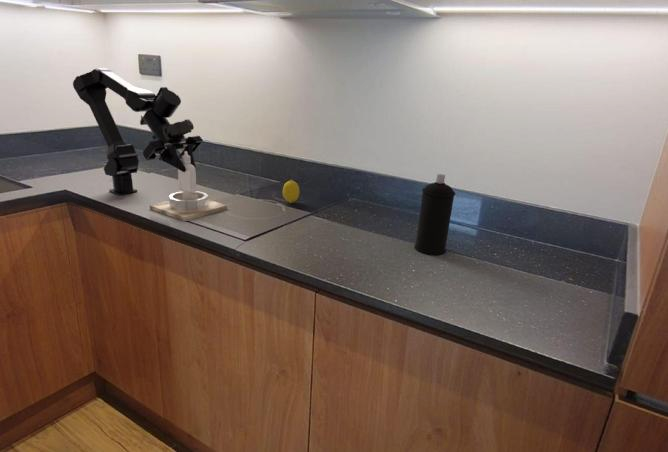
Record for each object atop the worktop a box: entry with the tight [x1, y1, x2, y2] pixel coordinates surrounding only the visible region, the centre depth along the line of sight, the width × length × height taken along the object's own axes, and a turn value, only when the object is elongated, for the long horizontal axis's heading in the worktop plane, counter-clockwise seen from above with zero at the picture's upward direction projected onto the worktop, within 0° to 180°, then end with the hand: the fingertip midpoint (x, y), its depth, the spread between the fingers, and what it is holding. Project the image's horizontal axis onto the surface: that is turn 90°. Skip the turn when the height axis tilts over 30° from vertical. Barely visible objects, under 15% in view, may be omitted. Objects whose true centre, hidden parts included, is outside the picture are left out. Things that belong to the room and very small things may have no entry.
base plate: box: [149, 199, 228, 222], centre depth 130 cm, size 16×16×1 cm
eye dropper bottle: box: [177, 151, 197, 193], centre depth 126 cm, size 4×6×12 cm
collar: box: [168, 190, 209, 211], centre depth 129 cm, size 11×11×3 cm
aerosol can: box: [414, 173, 456, 256], centre depth 108 cm, size 8×8×20 cm
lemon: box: [282, 179, 300, 204], centre depth 141 cm, size 6×6×8 cm
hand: (190, 170), depth 126 cm, fingers closed on eye dropper bottle, 3 cm apart
